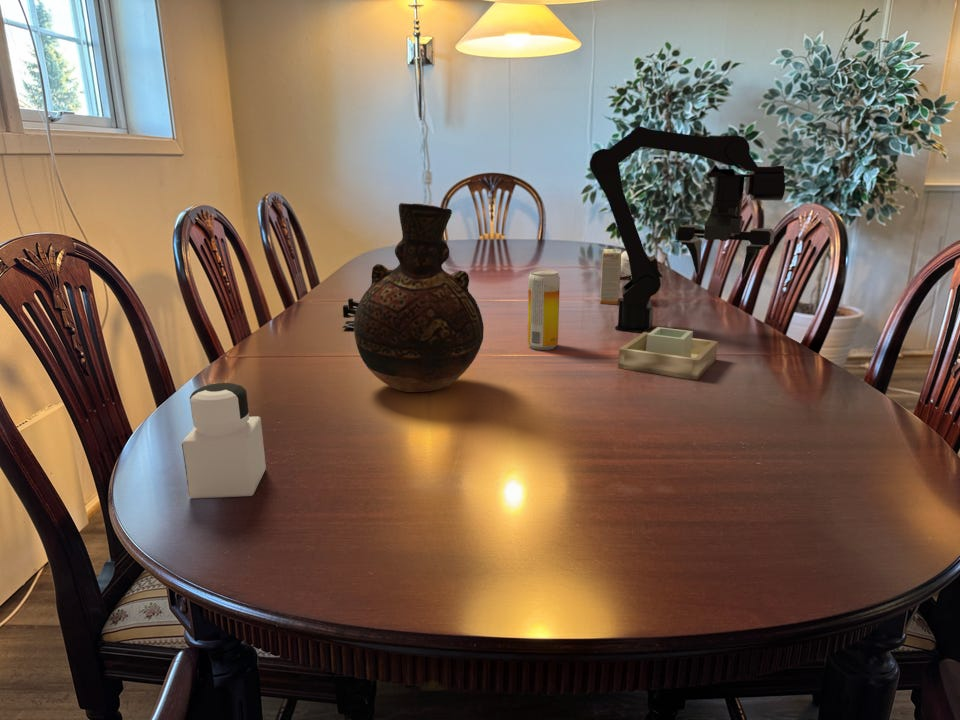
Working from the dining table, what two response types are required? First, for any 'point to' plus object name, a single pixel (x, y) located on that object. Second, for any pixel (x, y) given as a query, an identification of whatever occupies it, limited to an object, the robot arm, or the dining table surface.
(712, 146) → the robot arm
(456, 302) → the ceramic vessel
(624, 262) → the penguin figurine
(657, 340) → the sage crate
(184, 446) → the medicine bottle
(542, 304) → the beer can
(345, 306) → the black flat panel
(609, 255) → the supplement box
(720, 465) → the dining table surface
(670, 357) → the tray
